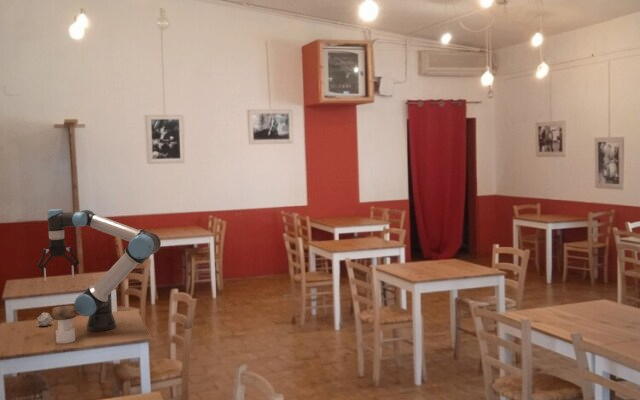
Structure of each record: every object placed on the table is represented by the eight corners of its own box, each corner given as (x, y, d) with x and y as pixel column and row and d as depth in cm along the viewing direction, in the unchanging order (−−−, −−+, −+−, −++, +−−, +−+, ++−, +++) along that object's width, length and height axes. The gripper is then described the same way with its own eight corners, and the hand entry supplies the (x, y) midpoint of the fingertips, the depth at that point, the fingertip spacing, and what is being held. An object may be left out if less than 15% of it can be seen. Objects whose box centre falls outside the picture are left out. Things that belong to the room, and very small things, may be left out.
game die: (49, 332, 376) (59, 317, 377) (38, 330, 369) (49, 315, 369) (39, 323, 380) (50, 308, 381) (29, 321, 372) (40, 305, 373)
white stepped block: (62, 338, 345) (60, 315, 344) (78, 338, 344) (77, 315, 343) (52, 343, 336) (51, 319, 335) (69, 343, 335) (68, 319, 334)
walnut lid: (76, 314, 346) (76, 304, 346) (75, 318, 335) (75, 308, 335) (53, 316, 343) (53, 306, 342) (51, 320, 332) (51, 310, 332)
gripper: (81, 236, 359) (84, 275, 360) (30, 240, 349) (33, 280, 350) (82, 237, 352) (85, 277, 353) (30, 241, 342) (33, 282, 343)
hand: (59, 279), depth 351 cm, fingers open, 13 cm apart
